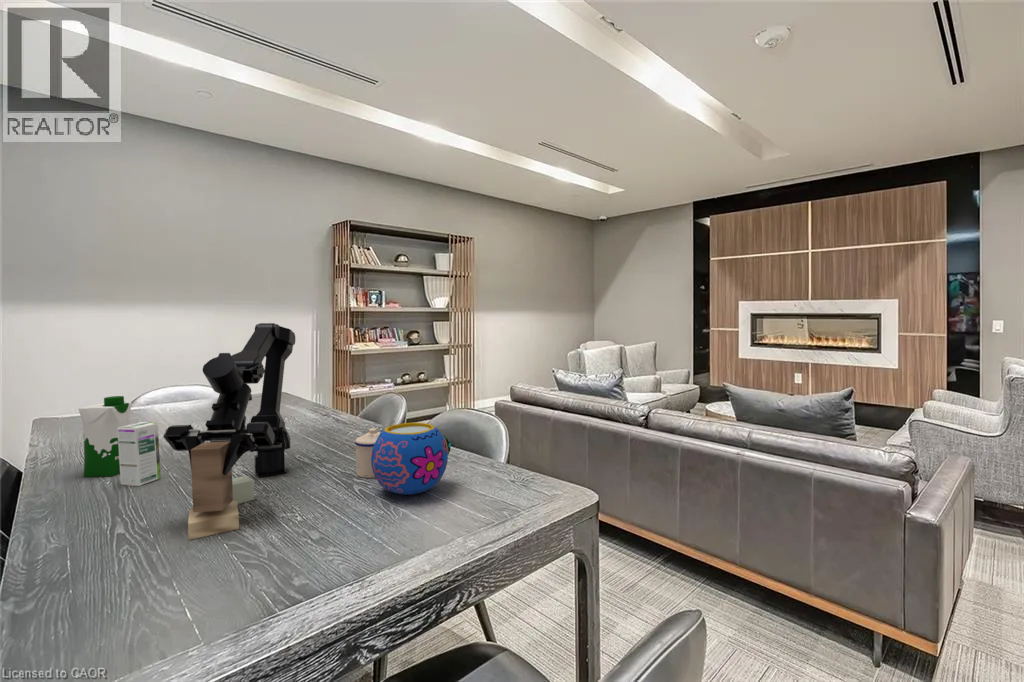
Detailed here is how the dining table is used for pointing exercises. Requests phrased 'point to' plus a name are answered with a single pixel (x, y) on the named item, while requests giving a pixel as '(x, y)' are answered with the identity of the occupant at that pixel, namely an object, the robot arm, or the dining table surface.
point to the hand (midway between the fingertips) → (209, 475)
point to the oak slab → (213, 521)
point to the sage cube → (243, 489)
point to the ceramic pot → (410, 457)
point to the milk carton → (103, 435)
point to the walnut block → (210, 477)
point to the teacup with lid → (365, 453)
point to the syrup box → (139, 453)
